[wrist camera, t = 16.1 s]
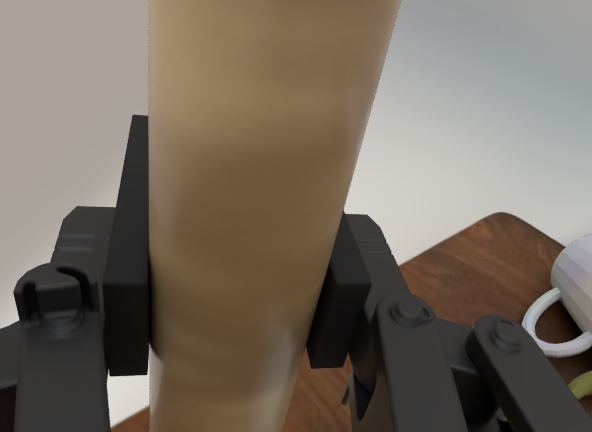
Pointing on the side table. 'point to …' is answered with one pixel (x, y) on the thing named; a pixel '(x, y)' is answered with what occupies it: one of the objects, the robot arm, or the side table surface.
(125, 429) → the side table surface
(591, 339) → the mug
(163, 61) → the dowel
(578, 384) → the green banana
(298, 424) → the side table surface
